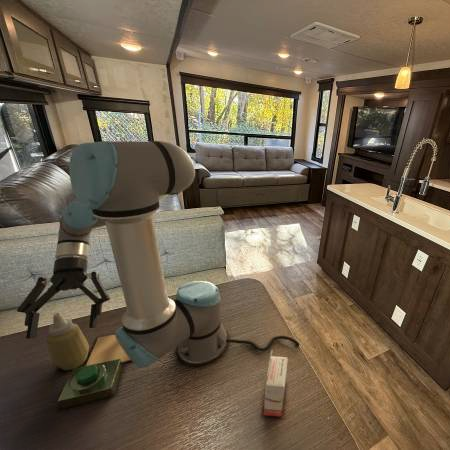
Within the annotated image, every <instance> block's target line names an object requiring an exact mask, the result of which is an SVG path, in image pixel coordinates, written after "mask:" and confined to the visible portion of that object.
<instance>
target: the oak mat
mask: <svg viewBox="0 0 450 450" xmlns="http://www.w3.org/2000/svg"><path fill="white" fill-rule="evenodd" d="M116 359H121V362H122V364H123V363H128V362H133V361H132V360H131V359H130V358H129V357H128V355H127V354H126V353H125V351H124V350H123V349H122V347H121V346H120V344H119V342H118V341H117V339H116V336H115V333H114V334H109V335H104V336H98V337H97V339H96V342H95V344H94V346H93V349H92V351H91V353H90V355H89V358H88V359H87V362H86V364H85V366H88V365H93V364H97V363H102V362H107V361H111V360H116Z"/></svg>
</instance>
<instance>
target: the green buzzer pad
mask: <svg viewBox="0 0 450 450" xmlns="http://www.w3.org/2000/svg"><path fill="white" fill-rule="evenodd" d="M93 365H94V366H96V367H97V370H98V376H97V378H96V379H95V380H94V381H92V382H90V383H89V384H86V385H81V384H79V382H78V379H77V374H78V373H79V371H80V370H82V369H83V368H85V367H87V366H86V365H83V366H78V367H76V368H74V369H71V370H72V371H71V372H70V375H69V376H68V379H67V380H66V383H65V385H64V387H63V389H62V391H61V393H60V395H59V397H58V400H57V404H58V406H59V407H60V409H66V408H69V407H73V406H77V405H80V404H85V403H89V402H92V401H93V402H94V401H97V400H100V399H104V398H108V397H113V396H114V395H115V392H116V388H117V385H118V382H119V379H120V375H121V371H122V368H123V363H122V362H121V359H116V360H111V361H107V362H102V363H97V364H93ZM88 366H90V365H88Z"/></svg>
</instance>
